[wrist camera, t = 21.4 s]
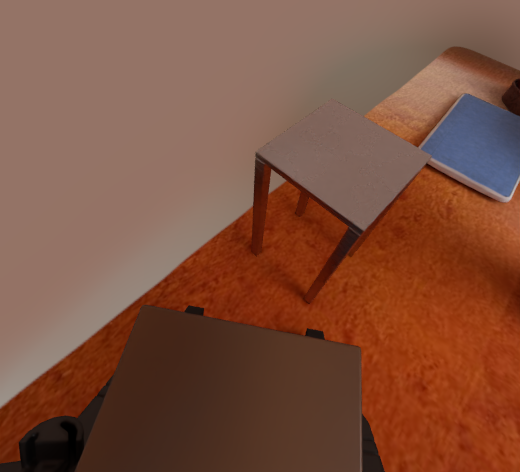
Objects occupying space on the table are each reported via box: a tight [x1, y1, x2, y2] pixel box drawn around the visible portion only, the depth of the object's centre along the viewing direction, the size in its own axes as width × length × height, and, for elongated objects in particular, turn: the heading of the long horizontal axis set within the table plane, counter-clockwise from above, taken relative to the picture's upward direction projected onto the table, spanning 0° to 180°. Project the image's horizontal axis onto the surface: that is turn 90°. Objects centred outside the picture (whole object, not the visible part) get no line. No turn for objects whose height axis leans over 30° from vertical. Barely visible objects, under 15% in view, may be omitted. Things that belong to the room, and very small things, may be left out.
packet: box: [75, 305, 362, 472], centre depth 9 cm, size 5×6×10 cm
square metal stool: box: [251, 99, 432, 304], centre depth 23 cm, size 8×8×14 cm
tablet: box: [418, 93, 520, 202], centre depth 38 cm, size 19×13×1 cm, turn 139°
